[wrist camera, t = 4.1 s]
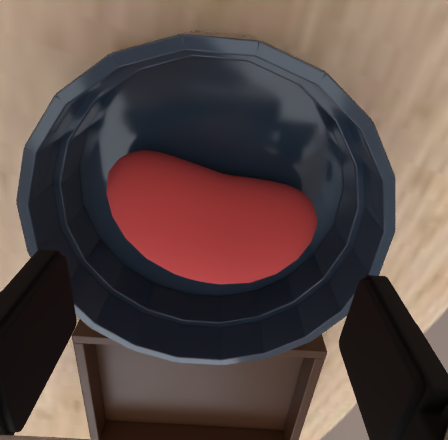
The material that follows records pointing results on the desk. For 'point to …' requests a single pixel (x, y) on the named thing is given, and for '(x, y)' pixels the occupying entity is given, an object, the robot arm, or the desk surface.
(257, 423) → the tray
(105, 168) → the bowl
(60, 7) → the desk surface
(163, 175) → the red kidney bean
